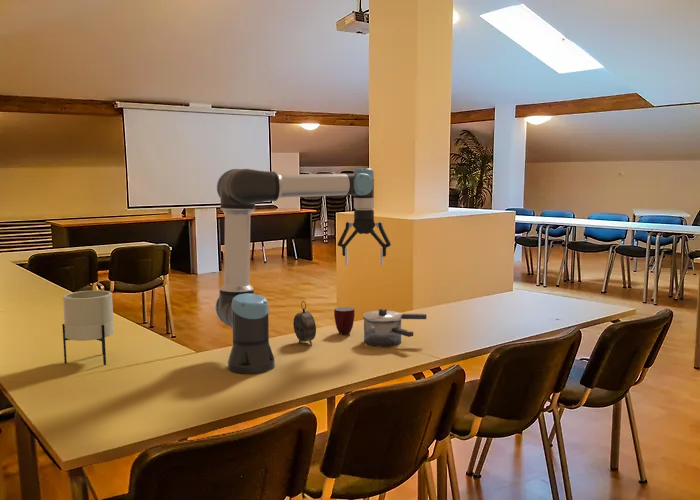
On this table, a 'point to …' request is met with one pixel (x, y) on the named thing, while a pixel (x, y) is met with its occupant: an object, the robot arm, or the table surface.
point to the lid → (389, 316)
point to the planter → (88, 317)
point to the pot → (384, 333)
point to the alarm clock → (304, 326)
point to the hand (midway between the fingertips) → (364, 264)
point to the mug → (344, 319)
